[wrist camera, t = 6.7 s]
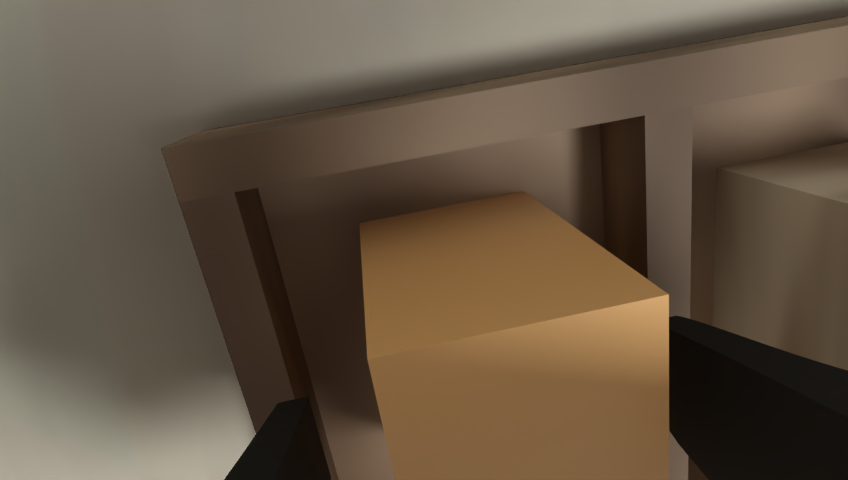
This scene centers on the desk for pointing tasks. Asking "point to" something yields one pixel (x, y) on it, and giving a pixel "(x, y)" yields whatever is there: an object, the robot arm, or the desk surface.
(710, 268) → the slot rack
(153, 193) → the desk surface
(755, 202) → the maple block
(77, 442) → the desk surface
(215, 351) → the desk surface
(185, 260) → the desk surface
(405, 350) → the plug block
